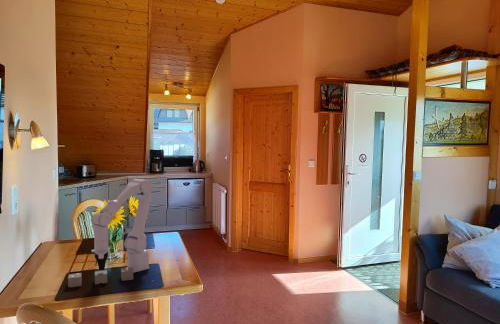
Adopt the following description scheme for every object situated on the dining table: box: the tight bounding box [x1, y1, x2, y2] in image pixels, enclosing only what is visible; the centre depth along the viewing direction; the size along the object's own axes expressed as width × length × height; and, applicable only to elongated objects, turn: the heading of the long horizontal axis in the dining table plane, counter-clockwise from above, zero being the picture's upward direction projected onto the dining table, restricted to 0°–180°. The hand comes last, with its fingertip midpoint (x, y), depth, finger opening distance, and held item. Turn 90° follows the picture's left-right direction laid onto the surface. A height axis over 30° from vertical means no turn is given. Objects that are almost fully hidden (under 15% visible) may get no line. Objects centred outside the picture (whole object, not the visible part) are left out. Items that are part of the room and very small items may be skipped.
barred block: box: [120, 267, 134, 282], centre depth 165 cm, size 5×5×4 cm
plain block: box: [94, 269, 108, 285], centre depth 161 cm, size 5×5×4 cm
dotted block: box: [67, 272, 83, 289], centre depth 157 cm, size 5×5×4 cm
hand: (101, 269), depth 161 cm, fingers closed
